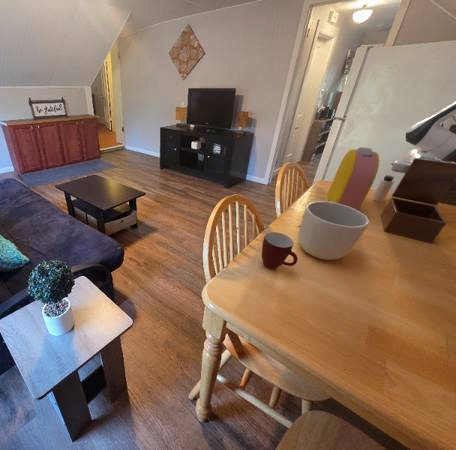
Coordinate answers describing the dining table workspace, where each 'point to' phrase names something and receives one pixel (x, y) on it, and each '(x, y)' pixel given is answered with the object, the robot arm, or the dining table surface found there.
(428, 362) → the dining table surface
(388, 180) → the pepper mill
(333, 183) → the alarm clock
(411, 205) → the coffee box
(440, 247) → the dining table surface
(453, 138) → the robot arm
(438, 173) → the box lid
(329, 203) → the planter
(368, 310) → the dining table surface
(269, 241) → the mug
